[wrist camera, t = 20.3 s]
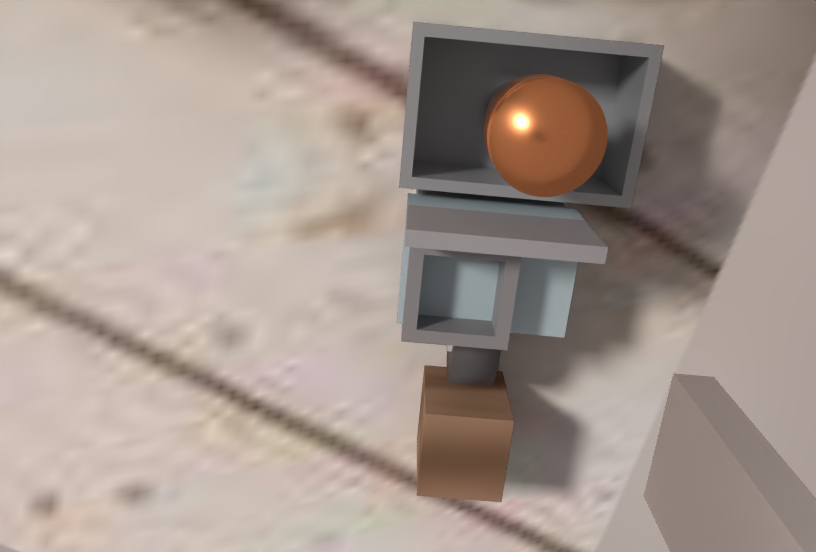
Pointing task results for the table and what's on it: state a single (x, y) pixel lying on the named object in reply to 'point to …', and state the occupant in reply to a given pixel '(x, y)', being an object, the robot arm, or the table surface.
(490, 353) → the grey bracket
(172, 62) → the table surface
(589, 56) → the bin
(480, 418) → the block
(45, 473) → the table surface
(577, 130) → the pin
